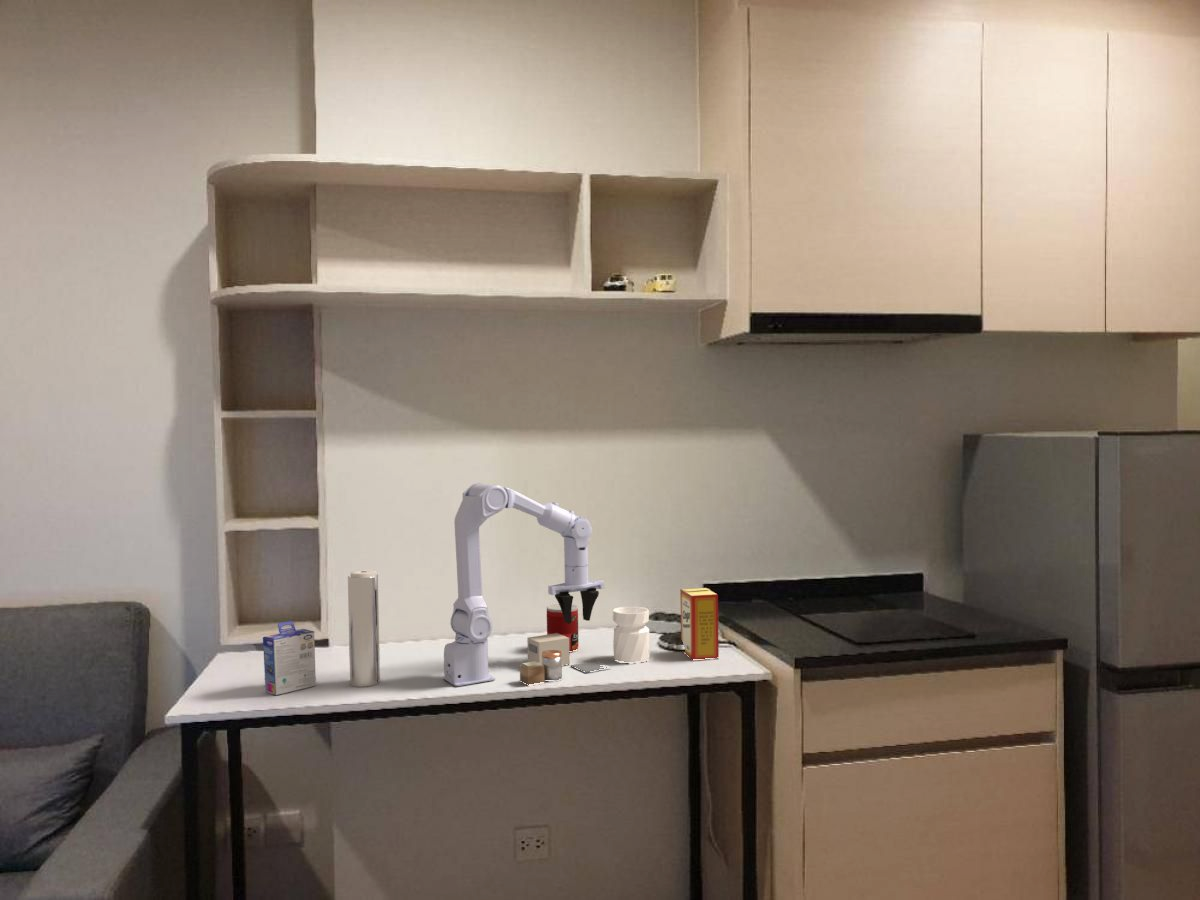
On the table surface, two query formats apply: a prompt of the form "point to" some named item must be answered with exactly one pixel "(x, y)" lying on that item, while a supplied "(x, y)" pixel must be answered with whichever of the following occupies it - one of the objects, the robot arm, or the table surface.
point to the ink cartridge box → (289, 660)
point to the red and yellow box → (699, 623)
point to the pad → (589, 666)
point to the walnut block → (531, 672)
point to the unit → (548, 647)
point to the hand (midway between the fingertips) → (577, 621)
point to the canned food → (563, 624)
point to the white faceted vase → (631, 634)
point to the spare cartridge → (552, 664)
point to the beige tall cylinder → (363, 628)
